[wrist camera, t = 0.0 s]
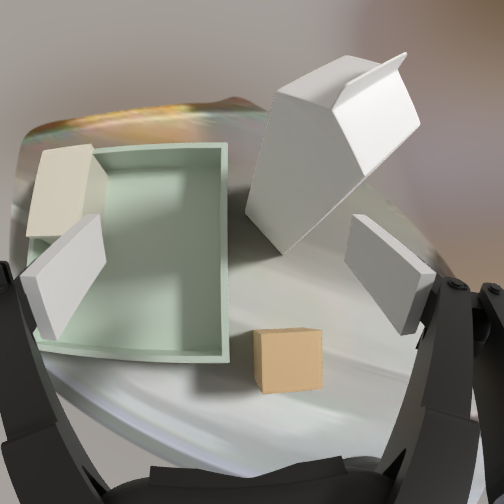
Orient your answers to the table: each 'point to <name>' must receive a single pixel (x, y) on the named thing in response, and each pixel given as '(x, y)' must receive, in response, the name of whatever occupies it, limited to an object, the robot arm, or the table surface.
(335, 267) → the table surface
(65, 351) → the tray
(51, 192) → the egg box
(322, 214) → the milk
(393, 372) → the table surface
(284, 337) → the box
